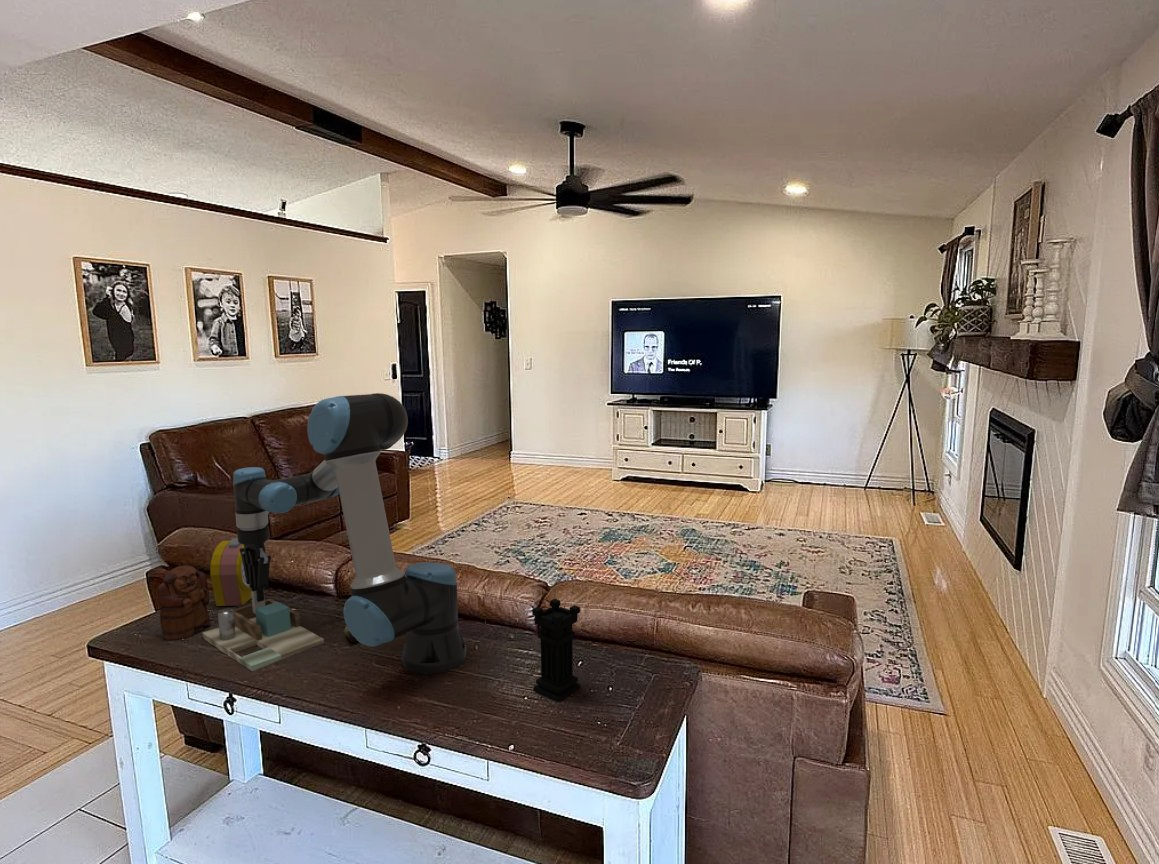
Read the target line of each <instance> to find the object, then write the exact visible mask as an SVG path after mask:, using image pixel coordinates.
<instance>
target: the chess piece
mask: <svg viewBox="0 0 1159 864" xmlns="http://www.w3.org/2000/svg"><path fill="white" fill-rule="evenodd" d="M580 613H581V607H580V606H578V605H575V604H573V605H571V606H569V609H567V608H566V607H562V606H561V599H560V600H559V599H557V598H553V599H551V600H549V607H548V608H545V609H543V608H542V607H540V606H536V607H534V608H532V611H531V614H532V616H534V624H535V625H538V626H540V632H539V633H537V638H538V639H540V676H539V677H538V678H537V679H535V684H536V685H534V686H533V692H536V693H538V694H540V695H543V696H544V697H546V698H549V699H551V700H553V701H555V702H557V703H560V702H561V701H563V700H565V699H566V698H567V697H569V696H570V695H572V694H574V693H575V692H577V691H578V690H579V689H581V687H582V685H581V684H580V683H578V681H579V677H578V676H574V672H573V671H574V670H573V665H574V664H573V663H574V661H573V655H574V654H573V638H574V637H575V636H576V632H575V631H573V625H574V624H576V623H577V622H578V620H579V619H578V618H579V617H578V614H580Z"/></svg>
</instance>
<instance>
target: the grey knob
mask: <svg viewBox="0 0 1159 864" xmlns="http://www.w3.org/2000/svg"><path fill="white" fill-rule="evenodd" d="M234 610H235V609H234V608H223V609H220V610H218V611H217V612H216V613H217V625H218V627H219V637H220V640H222V641H226V640H230V639H233V638H235V636H236V634H235V622H234Z"/></svg>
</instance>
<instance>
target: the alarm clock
mask: <svg viewBox="0 0 1159 864" xmlns="http://www.w3.org/2000/svg"><path fill="white" fill-rule="evenodd" d="M240 548H244V544H240V543H239V542H238V537H233V538H232V539H231V540H223V541H220V543H218V545H216V547H215V549H214V551H213V552H212V557H211V562H210V566H209V569H210V579H211V584H212V590H213V596H214V600H215V605H216V607H223V606H224V607H228V606H230V607H231V606H233V607H234V606H235V607H237V606H239V607H240V606H243V605H245V604H246V603H247V602H249V601H250V600H252V595H251V589H252V588H250V586H249V584H247V583H246V578H245V572H244V567H243V561H242V556H241V553H240Z"/></svg>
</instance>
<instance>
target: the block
mask: <svg viewBox="0 0 1159 864" xmlns="http://www.w3.org/2000/svg"><path fill="white" fill-rule="evenodd" d="M289 608H290V606H288V605H286V604H284V603H281V602H280V601H276V603H272V604H269V605H266V606H263V607H260V608H257V609H255V611H256V624H258V625H260V626H261V632H262V634H263V635H265V636H267V637H270V636H273V635H276V634H279V633H282V632H284V631H287V630H290V629H291V625H290V611H289Z"/></svg>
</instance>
